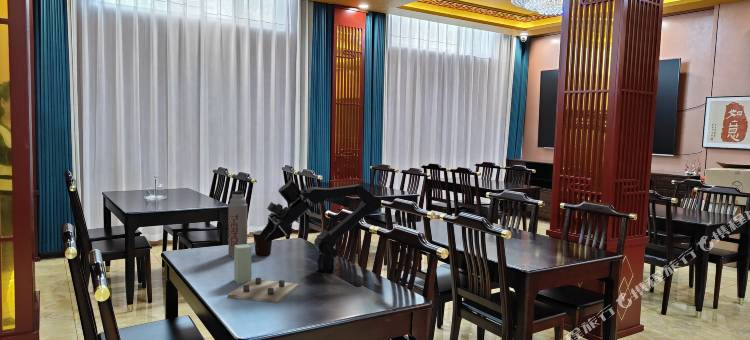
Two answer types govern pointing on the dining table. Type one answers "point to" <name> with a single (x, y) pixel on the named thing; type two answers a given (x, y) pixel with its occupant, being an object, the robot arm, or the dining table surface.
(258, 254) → the coffee mug
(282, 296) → the peg board
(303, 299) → the dining table surface
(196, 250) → the dining table surface
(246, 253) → the sage block
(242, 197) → the thermos bottle
